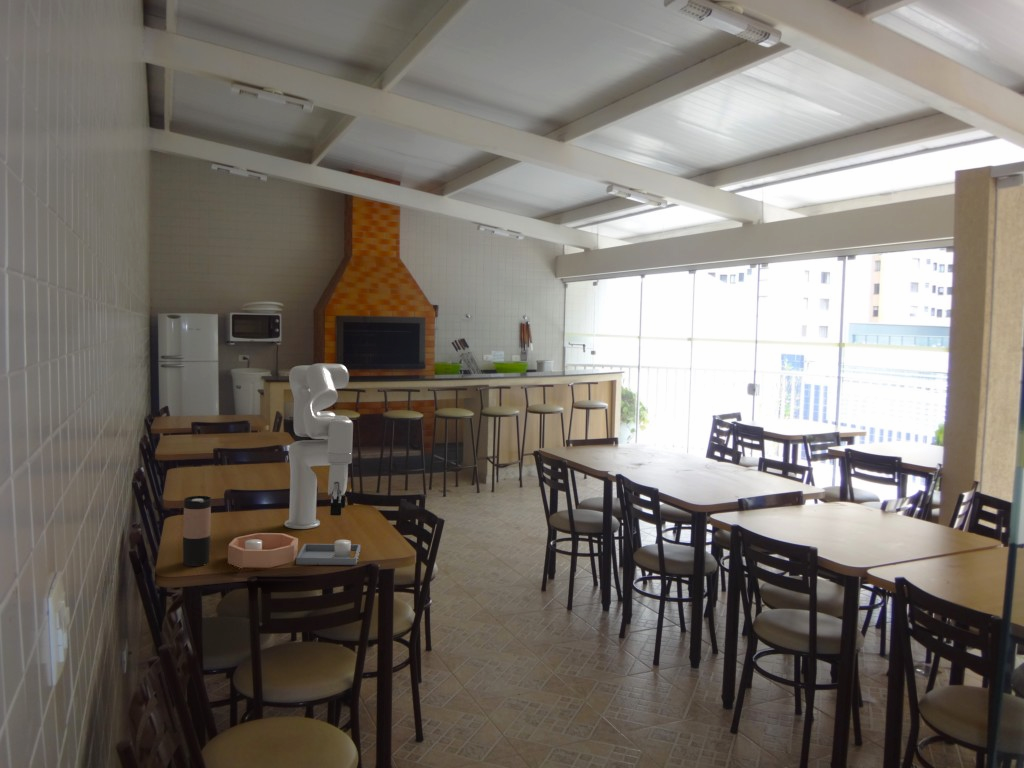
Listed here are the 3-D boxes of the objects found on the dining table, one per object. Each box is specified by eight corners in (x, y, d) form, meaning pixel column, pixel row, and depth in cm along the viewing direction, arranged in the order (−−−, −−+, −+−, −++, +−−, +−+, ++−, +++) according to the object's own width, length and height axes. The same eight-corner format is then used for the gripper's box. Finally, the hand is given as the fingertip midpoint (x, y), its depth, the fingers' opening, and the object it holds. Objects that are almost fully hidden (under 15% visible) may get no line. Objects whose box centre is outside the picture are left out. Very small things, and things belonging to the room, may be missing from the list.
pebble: (335, 554, 231) (335, 539, 231) (351, 554, 232) (351, 539, 232) (333, 559, 226) (333, 543, 226) (349, 559, 227) (350, 544, 227)
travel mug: (188, 559, 222) (189, 495, 221) (213, 559, 223) (214, 496, 222) (178, 566, 215) (179, 500, 214) (204, 567, 215) (206, 501, 214)
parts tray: (304, 552, 235) (304, 543, 235) (360, 552, 237) (360, 544, 237) (296, 566, 220) (296, 557, 220) (355, 567, 222) (356, 558, 222)
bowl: (239, 550, 234) (239, 532, 233) (300, 551, 236) (301, 533, 236) (222, 569, 214) (223, 550, 214) (289, 570, 217) (290, 551, 216)
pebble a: (246, 554, 227) (247, 539, 227) (263, 554, 228) (263, 539, 227) (242, 559, 222) (243, 543, 222) (259, 559, 223) (260, 543, 222)
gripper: (331, 453, 235) (329, 504, 236) (323, 462, 218) (321, 518, 219) (354, 453, 236) (352, 505, 237) (348, 463, 219) (346, 518, 220)
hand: (337, 511), depth 228 cm, fingers open, 9 cm apart
